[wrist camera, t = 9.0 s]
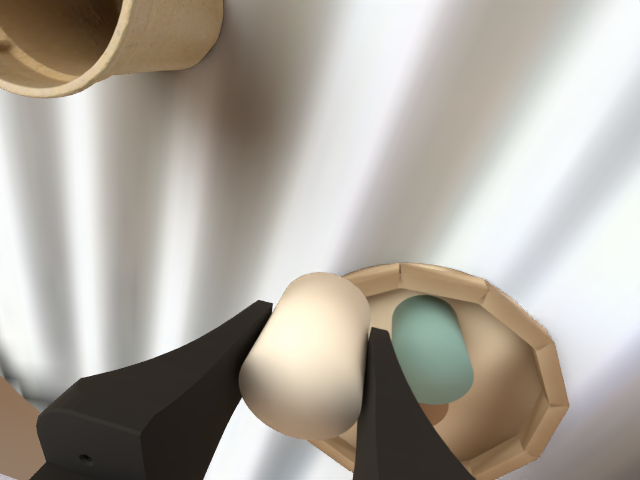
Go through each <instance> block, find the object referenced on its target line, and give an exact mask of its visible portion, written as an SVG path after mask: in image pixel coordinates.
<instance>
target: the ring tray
mask: <svg viewBox="0 0 640 480" xmlns="http://www.w3.org/2000/svg"><path fill="white" fill-rule="evenodd" d="M342 277H343V278H345V279H347V280H349V281H350V282H352V283H353V284H354V285H355V286H357V287H358V288H359V289H360V290H361V292H362V293H363V294H364V296H365V297H366V299H367V301H368V303H369V307H370V311H371V322H370V331H371V327H375V328H379V329H383V330H387V331H388V332H389V334H390V338H391V341H392V315H393V312H394V310H395V308H396V307H397V306H398V305H399V304H400V303H401V302H402V301H404V300H405V299H407V298H409V297H412V296H417V295H431V296H435V297H438V298H441V299H443V300H444V301H446V302H447V303H449V304H450V305H451V306H452V307H453V309H454V310H455V312H456V314H457V317H458V321H459V324H460V328H461V331H462V334H463V338H464V341H465V344H466V348H467V351H468V355H469V358H470V361H471V365H472V368H473V372H474V380H473V384H472V386H471V388H470V390H469V391H468V392H467V393H466V394H465V395H464V396H463V397H461V398H460V399H458V400H456V401H454V402H451V403H447V404H441V405H430V404H424V403H420V402H418V403H419V405H420V406H421V408H422V410H423V411H424V413H425V415H426V416H427V418H428V419H429V421H430V422H431V424H432V425H433V427H434V428H435V430H436V431H437V433H438V434H439V435H440V437H441V438H442V439H443V441H444V442H445V443H446V445H447V446H448V447H449V449H450V450H451V451H452V453H453V454H454V455H455V456H456V458H457V459H458V460H459V461H460V462H461V464H462V465H463V466H464V467H465V468H466V469H467V471H468V472H469V473H470V474H471V475H472V476H473V477H474V478H475V479H476V480H495V479H497V478H499V477H501V476H503V475H505V474H507V473H509V472H511V471H514V470H516V469H518V468H520V467H522V466H524V465H526V464H528V463H530V462H532V461H534V460H536V459H538V458H539V457H540V455H541V453H542V452H543V450H544V448H545V447H546V445H547V443H548V442H549V440H550V438H551V437H552V435H553V433H554V432H555V430H556V428H557V427H558V425H559V423H560V422H561V420H562V418H563V417H564V415H565V413H566V411H567V410H568V408H569V402H568V398H567V394H566V389H565V385H564V381H563V377H562V373H561V368H560V364H559V360H558V356H557V351H556V347H555V343H554V341H553V340H552V338H551V337H550V335H549V334H548V332H547V331H546V329H545V328H544V327H543V326H541V325H540V324H539V323H538V322H537V321H535V320H534V319H533V318H532V317H530V316H529V315H528V314H527V313H526V311H525V310H524V309H522V308H521V307H520V306H519V305H518V304H517V303H516V302H515V301H514V300H513V299H512V298H510V297H509V296H508V295H506V294H505V293H503V292H502V291H501V290H499V289H498V288H496V287H494V286H493V285H491V284H490V283H489V282H487V281H486V280H484V279H482V278H477V277H474V276H472V275H469V274H466V273H464V272H461V271H458V270H454V269H450V268H446V267H442V266H437V265H429V264H422V263H393V264H382V265H377V266H372V267H368V268H363V269H360V270H357V271H354V272H351V273H348V274H346V275H344V276H342ZM369 336H370V332H369ZM356 438H357V421H356V423H355V424H354V425H353V426H352V427H351V428H350V429H349V430H348V431H346V432H345V433H343V434H341V435H339V436H337V437H334V438H330V439H325V440H307V441H309V442H310V443H311V444H313V445H314V446H316V447H317V448H318V449H320V450H321V451H323V452H324V453H325V454H327V455H328V456H330V457H331V458H332V459H334V460H335V461H336V462H338V463H339V464H341V465H342V466H343V467H345V468H346V469H348V470H349V471H352V472H353V473H354V466H355V456H356ZM537 457H538V458H537Z"/></svg>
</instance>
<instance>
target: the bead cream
mask: <svg viewBox="0 0 640 480" xmlns="http://www.w3.org/2000/svg"><path fill="white" fill-rule="evenodd" d="M370 322H371V311H370V307H369V303H368V301H367V299H366V297H365V296H364V294H363V293H362V292H361V290H360V289H359V288H358V287H357V286H355V285H354V284H353V283H352V282H350V281H349V280H347V279H345V278H343V277H341V276H338V275H335V274H331V273H324V272H317V273H310V274H306V275H303V276H301V277H299V278H297V279H295V280H294V281H293V282H292V283H291V284H290V285H289V286H288V287H287V288H286V290H285V292H284V293H283V295H282V297H281V299H280V300H279V302H278V304H277V306H276V307H275V309H274V311H273V312H272V314H271V316H270V318H269V319H268V321H267V323H266V325H265V326H264V328H263V330H262V332H261V333H260V335H259V337H258V339H257V340H256V342H255V344H254V345H253V347H252V349H251V351H250V352H249V354H248V356H247V358H246V359H245V361H244V363H243V365H242V367H241V369H240V373H239V388H240V392H241V395H242V397H243V399H244V401H245V403H246V405H247V406H248V408H249V409H250V410H251V411H252V413H253V414H254V415H255V416H256V417H257V418H258V419H260V420H261V421H262V422H263V423H265V424H266V425H268V426H269V427H271V428H272V429H274V430H276V431H278V432H280V433H282V434H285V435H288V436H291V437H294V438H298V439H304V440H325V439H330V438H334V437H337V436H339V435H341V434H343V433H345V432H346V431H348V430H349V429H350V428H351V427H352V426H353V425H354V424H355V423H356V421H357V419H358V417H359V415H360V412H361V406H362V396H363V387H364V378H365V369H366V358H367V349H368V340H369V332H370Z"/></svg>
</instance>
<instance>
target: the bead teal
mask: <svg viewBox="0 0 640 480" xmlns="http://www.w3.org/2000/svg"><path fill="white" fill-rule="evenodd" d="M392 345H393V348H394V351H395V353H396V356H397V359H398V361H399V364H400V366H401V368H402V371H403V373H404V375H405V378H406V380H407V382H408V384H409V386H410V388H411V390H412V392H413V394H414V396H415V397H416V399H417V401H418V402H420V403H424V404H430V405H441V404H447V403H451V402H454V401H456V400H458V399H460V398H461V397H463V396H464V395H465V394H466V393H467V392H468V391H469V390H470V388H471V386H472V384H473V380H474V372H473V368H472V365H471V361H470V358H469V355H468V351H467V348H466V344H465V341H464V338H463V334H462V331H461V328H460V324H459V321H458V317H457V314H456V312H455V310H454V309H453V307H452V306H451V305H450V304H449V303H447V302H446V301H444V300H443V299H441V298H438V297H435V296H431V295H417V296H412V297H409V298H407V299H405V300H404V301H402V302H401V303H400V304H399V305H398V306H397V307H396V308H395V310H394V312H393V315H392Z"/></svg>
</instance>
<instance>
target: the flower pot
mask: <svg viewBox="0 0 640 480" xmlns="http://www.w3.org/2000/svg"><path fill="white" fill-rule="evenodd" d="M222 20H223V0H0V88H1V89H4V90H7V91H8V92H11V93H14V94H19V95H22V96H27V97H33V98H58V97H64V96H69V95H73V94H76V93H78V92H81V91H83V90H85V89H87V88H88V87H90V86H92V85H93V84H94V83H96V82H99V81H102V80H104V79H106V78H108V77H110V76H112V75H122V74H132V73H142V72H152V71H165V70H183V69H187V68H190V67H193V66H195V65H196V64H198V63H199V62H200V61H201V60H202V59H203V58H204V57H205V55H206V54H207V53H208V52H209V50H210V49H211V48H212V47H213V45H214V44H215V43H216V41H217V39H218V37H219V34H220V30H221V25H222Z"/></svg>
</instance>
